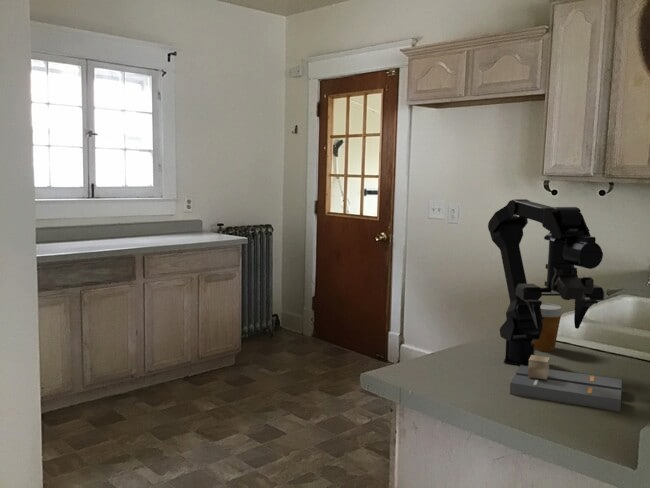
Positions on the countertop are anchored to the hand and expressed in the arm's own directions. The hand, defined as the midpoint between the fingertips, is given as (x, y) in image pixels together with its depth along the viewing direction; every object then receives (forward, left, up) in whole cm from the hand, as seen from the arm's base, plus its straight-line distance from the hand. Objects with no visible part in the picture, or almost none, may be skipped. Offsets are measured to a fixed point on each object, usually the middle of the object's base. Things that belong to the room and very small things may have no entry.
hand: (557, 328), depth 142 cm
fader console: (+3, -6, -13) cm, 15 cm away
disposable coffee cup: (-6, +28, -13) cm, 31 cm away
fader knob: (-3, -6, -13) cm, 14 cm away
